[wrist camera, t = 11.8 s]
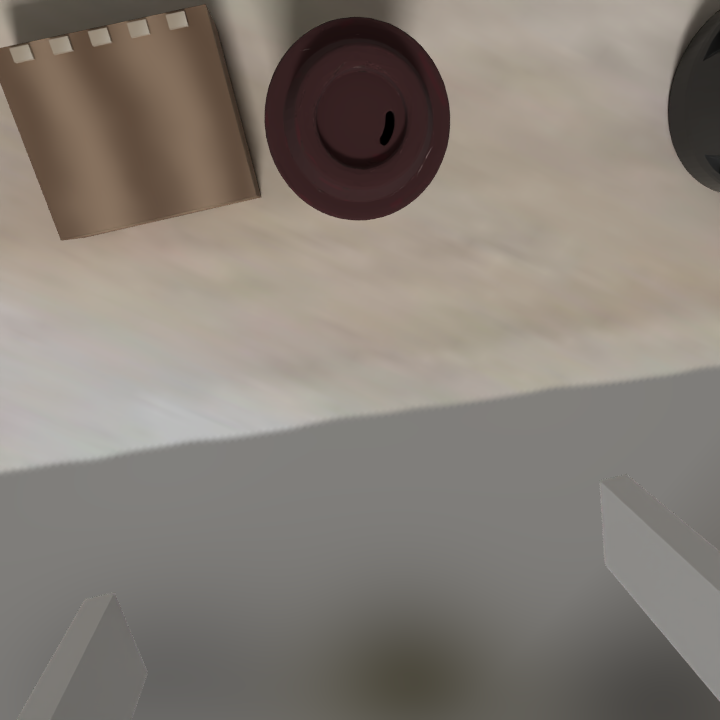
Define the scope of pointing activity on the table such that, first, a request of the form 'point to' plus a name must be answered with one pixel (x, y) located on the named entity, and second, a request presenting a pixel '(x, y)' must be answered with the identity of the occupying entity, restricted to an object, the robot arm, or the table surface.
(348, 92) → the coffee cup
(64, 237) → the brown block
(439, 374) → the table surface
